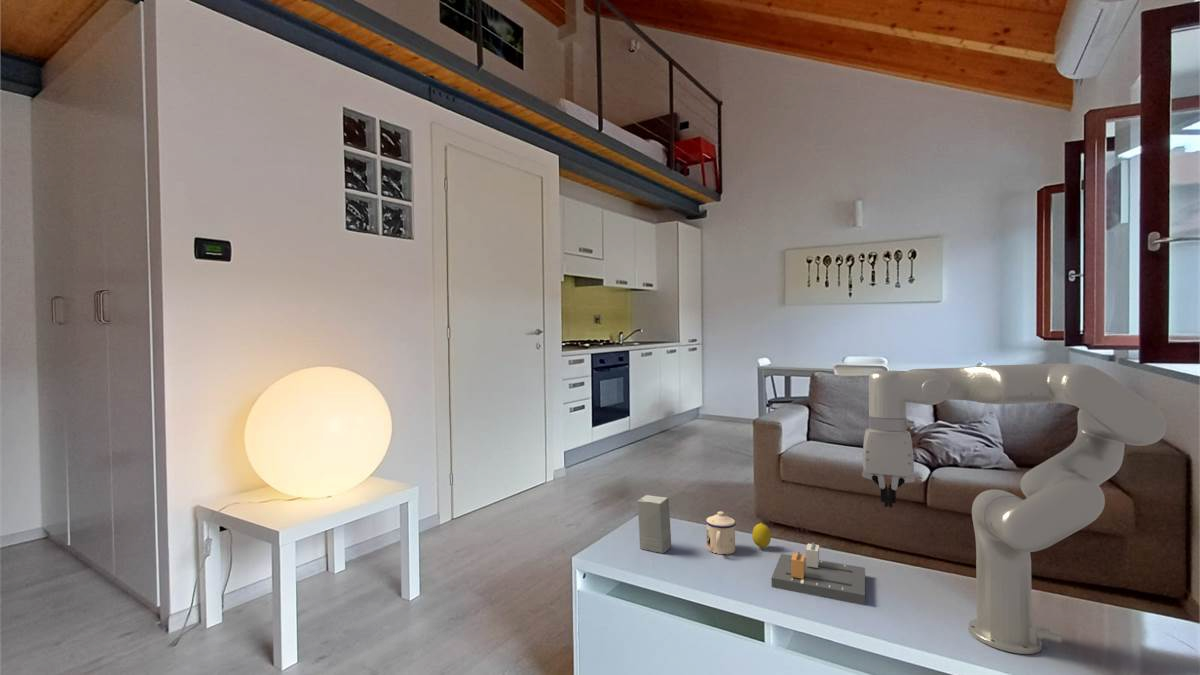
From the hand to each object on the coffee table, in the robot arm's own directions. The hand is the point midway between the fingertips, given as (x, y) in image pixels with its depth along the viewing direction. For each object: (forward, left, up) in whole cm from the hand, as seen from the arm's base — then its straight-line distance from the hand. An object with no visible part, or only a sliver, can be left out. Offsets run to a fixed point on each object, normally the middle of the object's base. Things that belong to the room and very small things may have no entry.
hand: (888, 505), depth 121 cm
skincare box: (+64, -19, -27) cm, 72 cm away
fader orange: (+21, -12, -24) cm, 34 cm away
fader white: (+18, -21, -24) cm, 37 cm away
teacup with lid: (+45, -26, -27) cm, 59 cm away
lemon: (+34, -34, -27) cm, 55 cm away
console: (+16, -17, -27) cm, 36 cm away
